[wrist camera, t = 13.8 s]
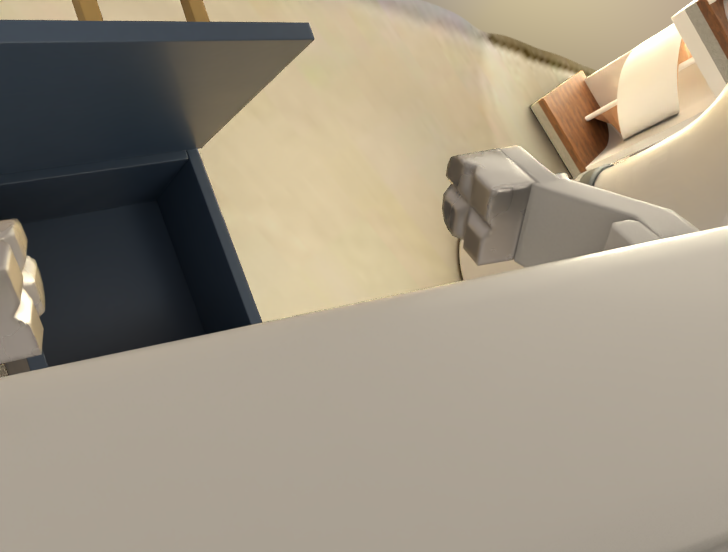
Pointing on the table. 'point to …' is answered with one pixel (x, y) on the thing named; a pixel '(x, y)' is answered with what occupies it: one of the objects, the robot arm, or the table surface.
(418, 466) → the robot arm
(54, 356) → the chest
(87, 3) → the lid
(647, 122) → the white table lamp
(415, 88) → the table surface
